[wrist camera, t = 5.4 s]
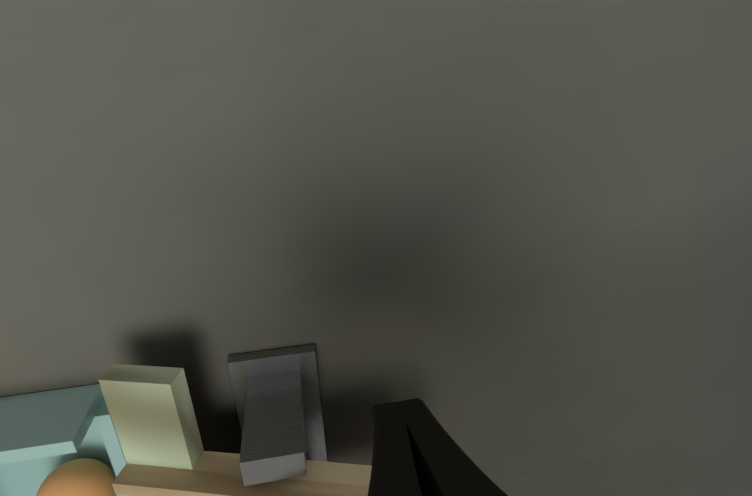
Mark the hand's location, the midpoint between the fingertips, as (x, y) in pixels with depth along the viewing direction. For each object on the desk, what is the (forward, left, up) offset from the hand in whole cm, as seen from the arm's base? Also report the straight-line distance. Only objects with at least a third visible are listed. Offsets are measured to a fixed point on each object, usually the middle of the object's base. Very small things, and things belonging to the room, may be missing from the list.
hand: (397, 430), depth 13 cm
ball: (-9, +13, -8) cm, 18 cm away
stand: (-9, +4, -10) cm, 14 cm away
